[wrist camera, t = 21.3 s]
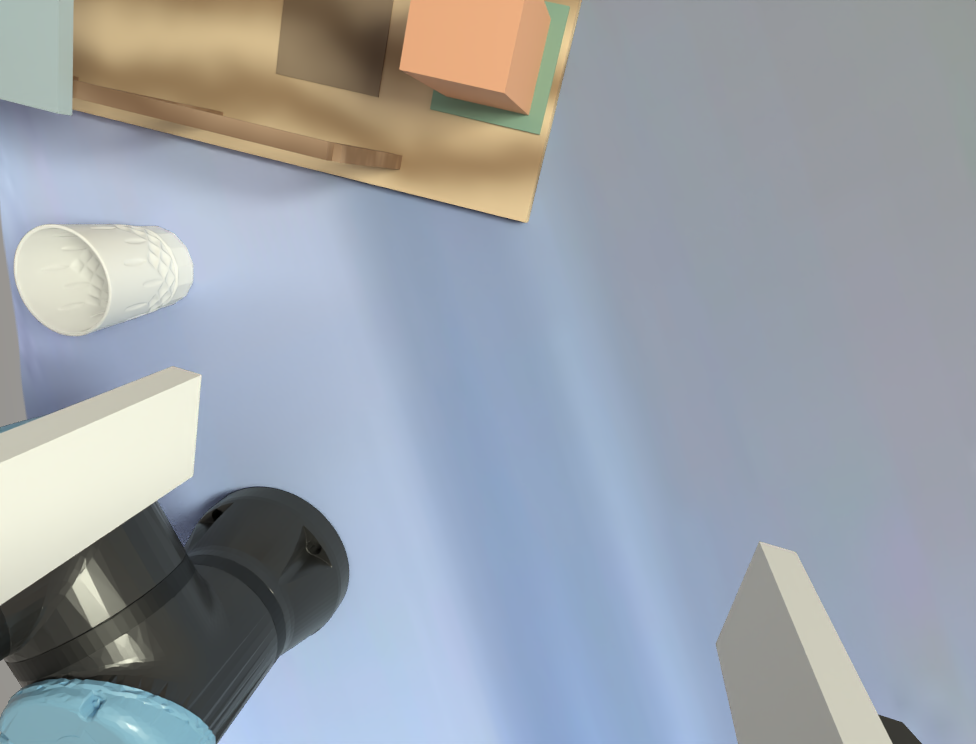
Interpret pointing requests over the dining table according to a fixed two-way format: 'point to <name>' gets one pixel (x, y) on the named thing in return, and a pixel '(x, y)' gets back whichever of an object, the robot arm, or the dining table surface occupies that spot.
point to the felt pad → (541, 92)
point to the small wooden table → (303, 93)
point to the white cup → (99, 274)
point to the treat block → (477, 49)
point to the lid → (37, 53)
